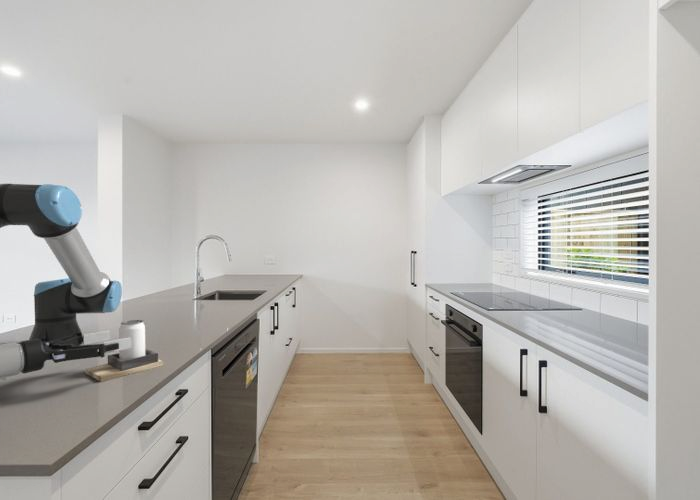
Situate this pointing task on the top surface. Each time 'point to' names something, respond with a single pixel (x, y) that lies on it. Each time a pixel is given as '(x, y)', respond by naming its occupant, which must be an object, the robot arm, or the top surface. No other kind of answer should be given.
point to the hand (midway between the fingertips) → (119, 338)
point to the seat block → (124, 366)
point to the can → (132, 339)
